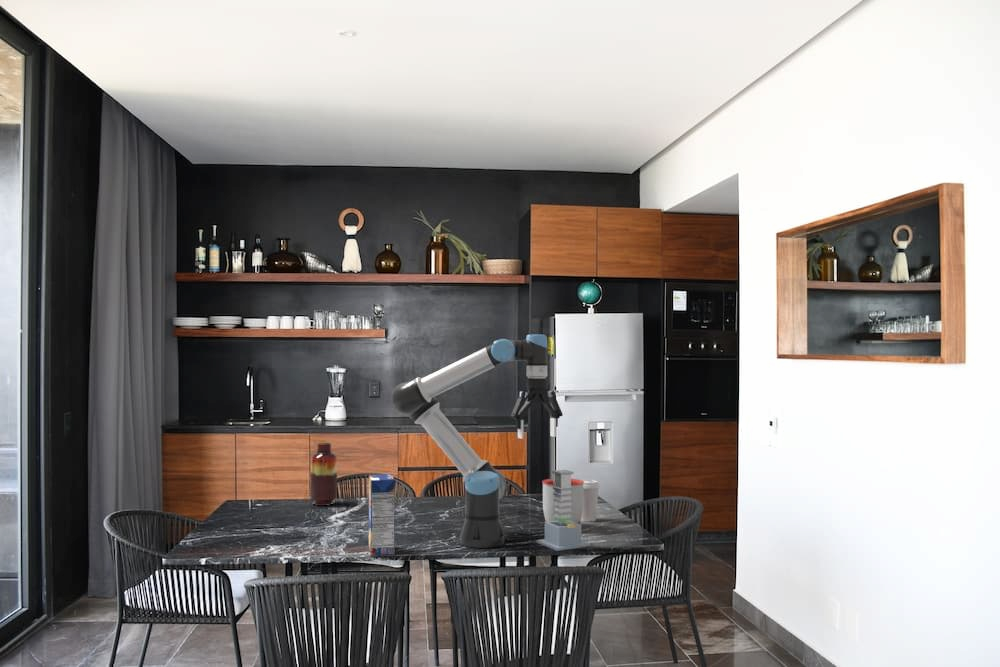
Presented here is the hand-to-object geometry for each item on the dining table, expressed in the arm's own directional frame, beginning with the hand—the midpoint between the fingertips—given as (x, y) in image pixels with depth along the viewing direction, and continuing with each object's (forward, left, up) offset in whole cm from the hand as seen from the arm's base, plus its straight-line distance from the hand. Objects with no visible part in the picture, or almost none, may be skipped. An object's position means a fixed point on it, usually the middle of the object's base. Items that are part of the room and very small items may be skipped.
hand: (537, 437), depth 274 cm
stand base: (+1, -15, -35) cm, 38 cm away
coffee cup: (+31, +13, -35) cm, 48 cm away
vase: (-50, +94, -35) cm, 112 cm away
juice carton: (-56, +6, -35) cm, 66 cm away
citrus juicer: (+16, +8, -35) cm, 39 cm away
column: (+1, -15, -28) cm, 32 cm away
